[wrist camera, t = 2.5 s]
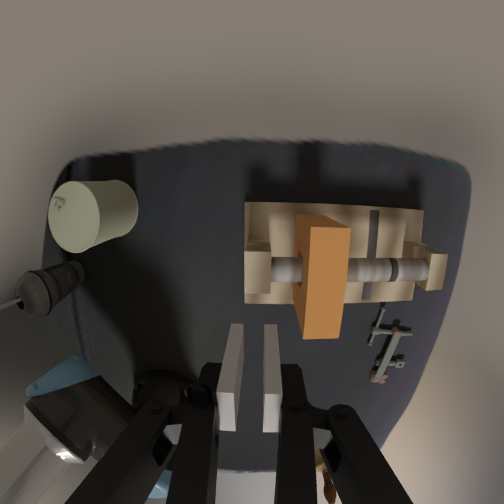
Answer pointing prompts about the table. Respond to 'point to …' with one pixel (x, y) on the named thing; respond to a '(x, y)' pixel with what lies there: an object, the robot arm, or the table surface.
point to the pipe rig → (360, 252)
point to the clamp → (385, 360)
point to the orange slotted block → (321, 275)
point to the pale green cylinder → (91, 213)
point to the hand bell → (325, 478)
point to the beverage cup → (46, 288)
